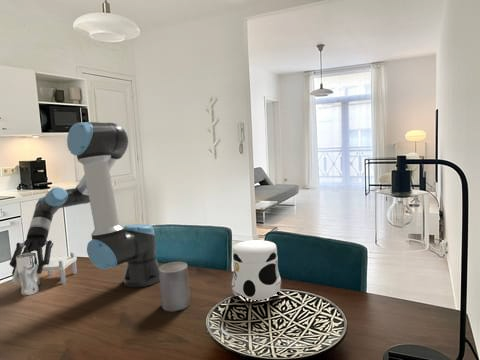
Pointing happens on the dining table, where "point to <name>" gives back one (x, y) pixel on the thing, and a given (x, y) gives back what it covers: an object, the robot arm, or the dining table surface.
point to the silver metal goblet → (27, 272)
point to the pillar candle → (174, 286)
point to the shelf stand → (60, 266)
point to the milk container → (255, 270)
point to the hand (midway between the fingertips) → (24, 282)
